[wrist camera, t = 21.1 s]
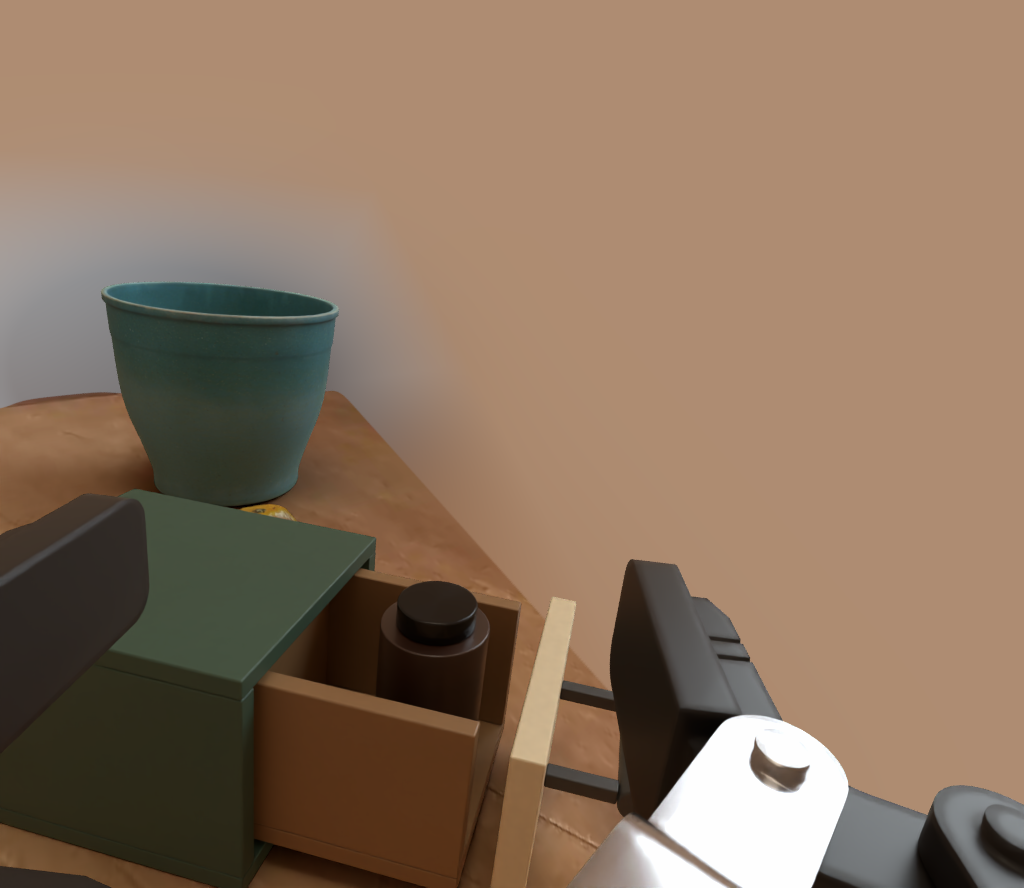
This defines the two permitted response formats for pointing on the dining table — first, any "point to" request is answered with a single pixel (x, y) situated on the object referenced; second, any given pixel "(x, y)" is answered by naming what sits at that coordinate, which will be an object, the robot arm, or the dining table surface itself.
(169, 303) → the flower pot
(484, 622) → the pepper mill
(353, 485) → the dining table surface
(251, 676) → the cabinet
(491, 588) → the dining table surface
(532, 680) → the drawer
